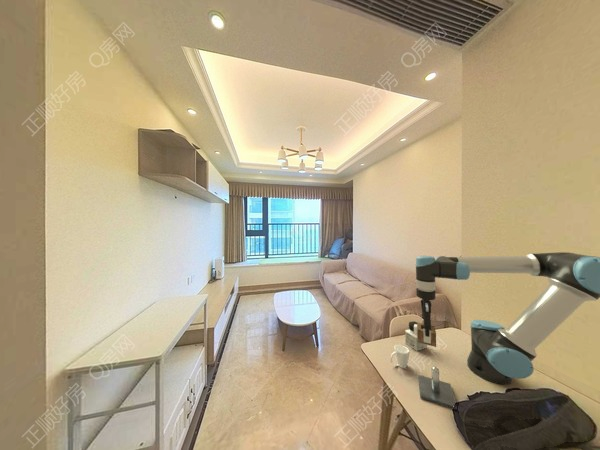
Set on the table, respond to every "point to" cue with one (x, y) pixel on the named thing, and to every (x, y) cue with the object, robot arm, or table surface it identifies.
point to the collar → (421, 336)
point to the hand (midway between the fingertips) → (426, 337)
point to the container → (413, 337)
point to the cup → (401, 355)
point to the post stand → (436, 390)
